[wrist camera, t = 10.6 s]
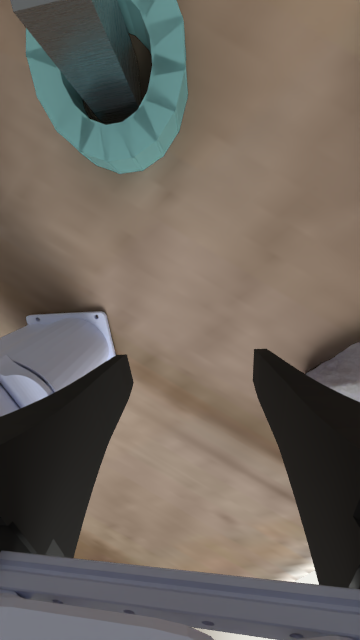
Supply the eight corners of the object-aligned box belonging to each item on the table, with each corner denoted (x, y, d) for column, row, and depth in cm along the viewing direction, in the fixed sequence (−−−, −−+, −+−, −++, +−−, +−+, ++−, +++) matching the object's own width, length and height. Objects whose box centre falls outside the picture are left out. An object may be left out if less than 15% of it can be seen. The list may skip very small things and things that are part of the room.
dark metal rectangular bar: (105, 127, 15) (13, 11, 8) (95, 70, 14) (-24, -131, 6) (144, 120, 15) (88, -7, 7) (137, 61, 13) (63, -162, 6)
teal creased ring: (75, 180, 16) (55, 169, 14) (34, 3, 13) (-2, -51, 11) (191, 164, 15) (190, 150, 13) (181, -35, 12) (177, -105, 9)
